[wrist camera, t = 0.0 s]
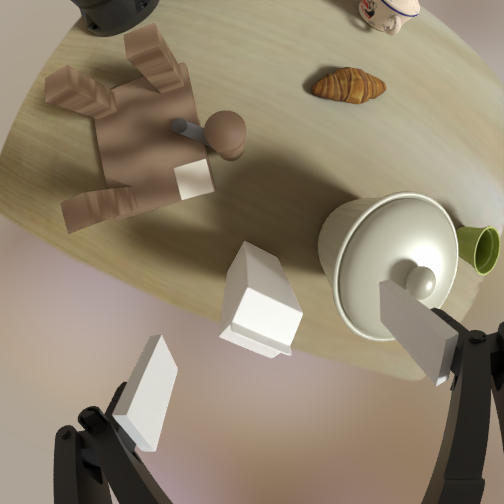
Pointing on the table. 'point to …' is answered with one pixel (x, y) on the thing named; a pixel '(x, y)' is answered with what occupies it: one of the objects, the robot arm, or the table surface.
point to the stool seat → (136, 134)
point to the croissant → (349, 86)
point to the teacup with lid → (388, 13)
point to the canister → (387, 256)
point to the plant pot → (479, 247)
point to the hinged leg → (217, 133)
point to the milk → (259, 304)
